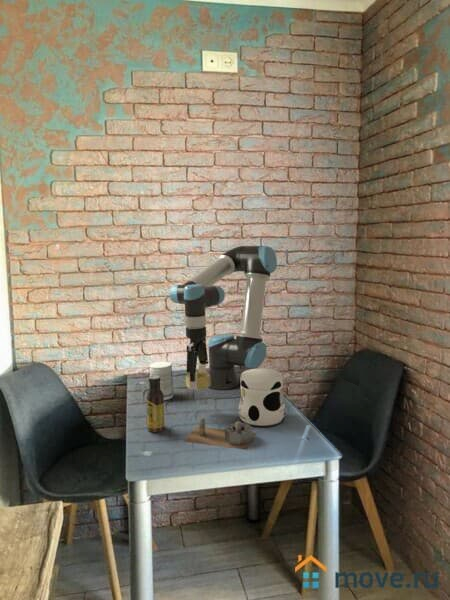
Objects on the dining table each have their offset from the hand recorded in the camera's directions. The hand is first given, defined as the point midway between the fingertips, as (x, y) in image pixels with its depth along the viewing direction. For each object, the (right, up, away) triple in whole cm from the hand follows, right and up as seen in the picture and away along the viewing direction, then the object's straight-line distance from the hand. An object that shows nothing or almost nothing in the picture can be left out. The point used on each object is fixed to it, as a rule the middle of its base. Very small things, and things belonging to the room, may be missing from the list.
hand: (198, 384), depth 172 cm
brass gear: (0, 0, 0) cm, 0 cm away
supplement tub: (-17, -10, +24) cm, 31 cm away
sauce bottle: (-15, -15, -8) cm, 22 cm away
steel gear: (+15, -15, -20) cm, 29 cm away
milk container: (+24, -13, -3) cm, 27 cm away
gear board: (+8, -16, -18) cm, 25 cm away
